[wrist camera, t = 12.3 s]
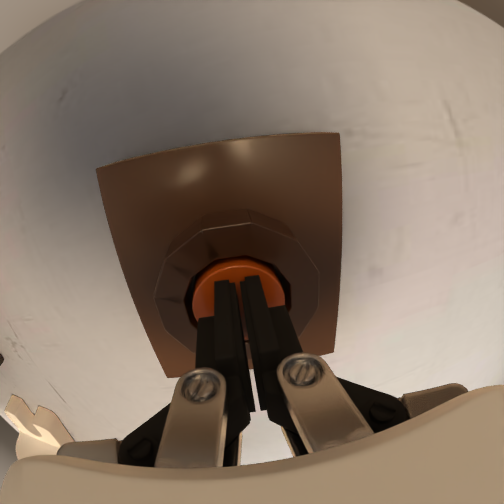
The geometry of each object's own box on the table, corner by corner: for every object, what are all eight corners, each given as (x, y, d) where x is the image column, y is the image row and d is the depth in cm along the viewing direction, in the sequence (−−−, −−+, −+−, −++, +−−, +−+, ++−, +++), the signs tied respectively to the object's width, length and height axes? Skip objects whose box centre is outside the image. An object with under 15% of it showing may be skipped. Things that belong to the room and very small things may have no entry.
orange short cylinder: (186, 253, 11) (182, 273, 9) (273, 240, 11) (282, 258, 10) (203, 321, 13) (203, 346, 11) (279, 310, 13) (286, 334, 11)
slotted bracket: (86, 456, 24) (78, 499, 17) (47, 442, 23) (36, 482, 16) (53, 411, 19) (36, 468, 12) (9, 393, 18) (-12, 441, 11)
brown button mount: (113, 162, 11) (75, 176, 8) (321, 132, 12) (361, 133, 8) (170, 353, 16) (164, 401, 13) (322, 330, 17) (344, 374, 13)
